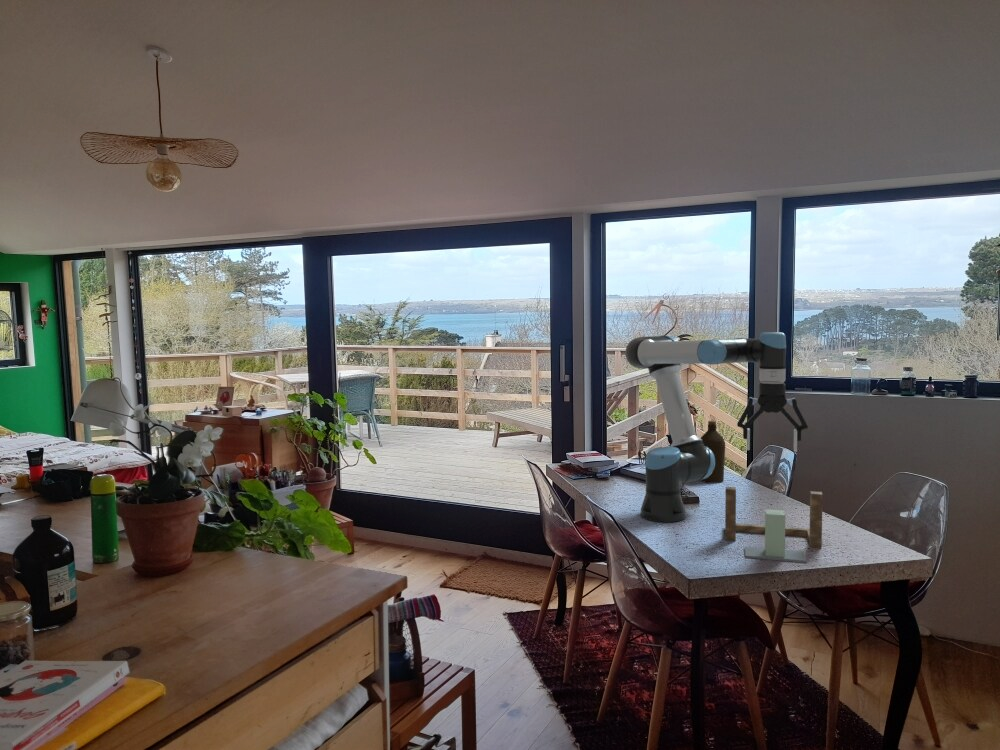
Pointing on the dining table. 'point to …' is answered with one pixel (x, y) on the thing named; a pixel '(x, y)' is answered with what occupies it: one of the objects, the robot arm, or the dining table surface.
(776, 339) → the robot arm
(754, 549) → the mat
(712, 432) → the olive oil
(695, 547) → the dining table surface
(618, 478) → the dining table surface
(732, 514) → the frame
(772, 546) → the tall green square pillar
